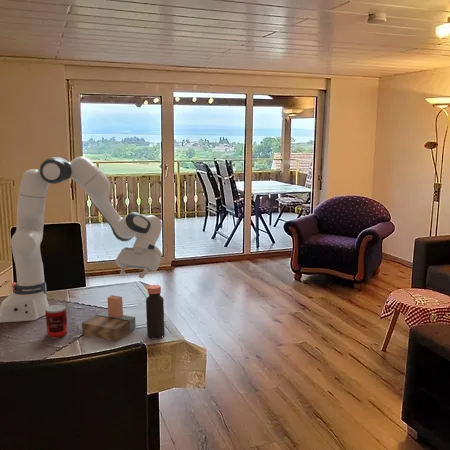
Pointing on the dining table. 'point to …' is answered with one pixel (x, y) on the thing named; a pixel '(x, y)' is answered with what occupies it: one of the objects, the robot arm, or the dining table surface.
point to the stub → (118, 311)
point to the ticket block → (105, 327)
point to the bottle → (155, 312)
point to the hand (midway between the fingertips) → (131, 276)
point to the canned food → (56, 321)
